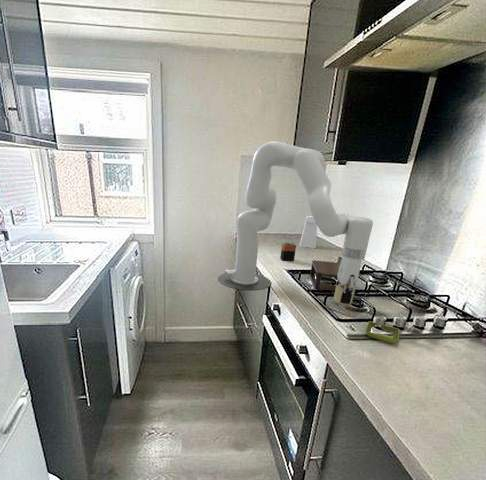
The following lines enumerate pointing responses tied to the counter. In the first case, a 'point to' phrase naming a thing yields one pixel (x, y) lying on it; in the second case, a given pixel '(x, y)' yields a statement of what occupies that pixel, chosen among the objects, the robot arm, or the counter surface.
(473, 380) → the counter surface
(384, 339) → the green square frame
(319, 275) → the rack
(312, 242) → the grater
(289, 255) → the battery
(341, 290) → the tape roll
